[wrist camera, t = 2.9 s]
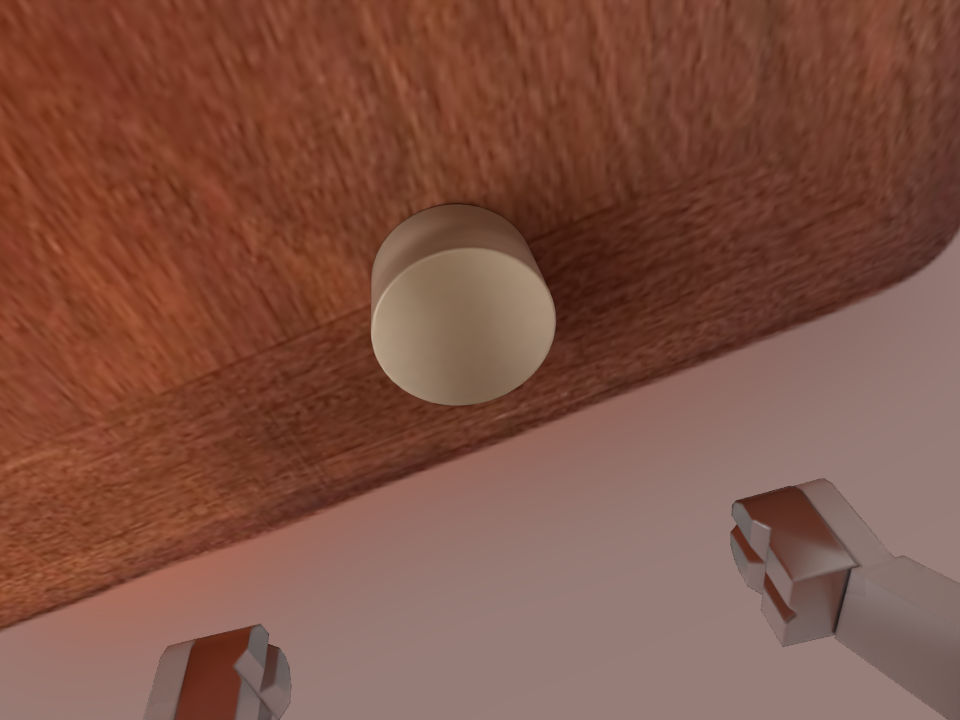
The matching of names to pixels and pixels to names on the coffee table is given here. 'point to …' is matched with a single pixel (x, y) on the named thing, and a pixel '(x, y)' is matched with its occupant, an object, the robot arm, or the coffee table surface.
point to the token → (459, 306)
